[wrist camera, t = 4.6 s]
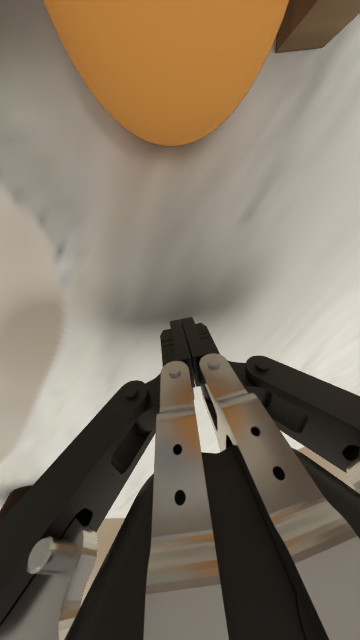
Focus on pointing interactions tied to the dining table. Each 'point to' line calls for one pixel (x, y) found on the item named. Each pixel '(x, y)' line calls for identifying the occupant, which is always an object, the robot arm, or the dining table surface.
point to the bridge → (314, 23)
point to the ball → (168, 59)
